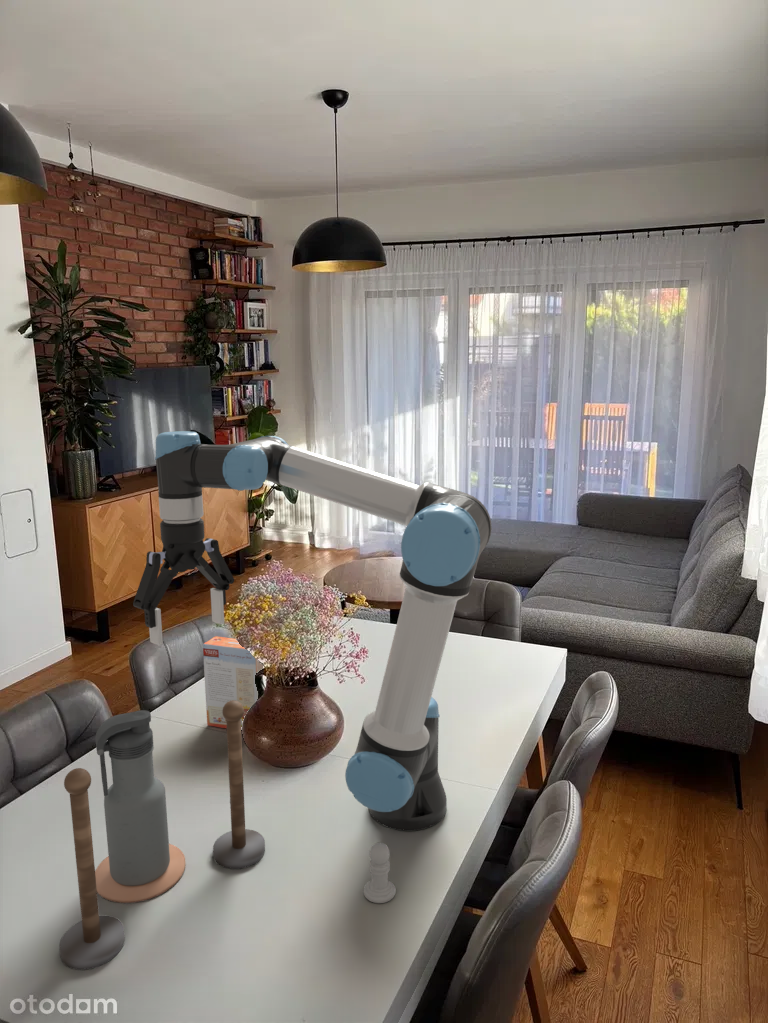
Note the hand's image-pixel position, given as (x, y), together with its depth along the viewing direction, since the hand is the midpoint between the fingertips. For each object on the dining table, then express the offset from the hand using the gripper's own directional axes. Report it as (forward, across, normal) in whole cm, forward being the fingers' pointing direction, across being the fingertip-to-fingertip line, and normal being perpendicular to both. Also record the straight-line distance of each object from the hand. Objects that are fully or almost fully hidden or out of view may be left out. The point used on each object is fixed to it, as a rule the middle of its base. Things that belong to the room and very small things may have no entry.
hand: (188, 632), depth 138 cm
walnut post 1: (+37, +31, +15) cm, 50 cm away
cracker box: (+37, -28, -22) cm, 51 cm away
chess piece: (+37, -5, +41) cm, 56 cm away
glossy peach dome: (+37, +17, +6) cm, 41 cm away
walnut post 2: (+37, +3, +15) cm, 40 cm away
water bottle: (+36, +17, +6) cm, 41 cm away
